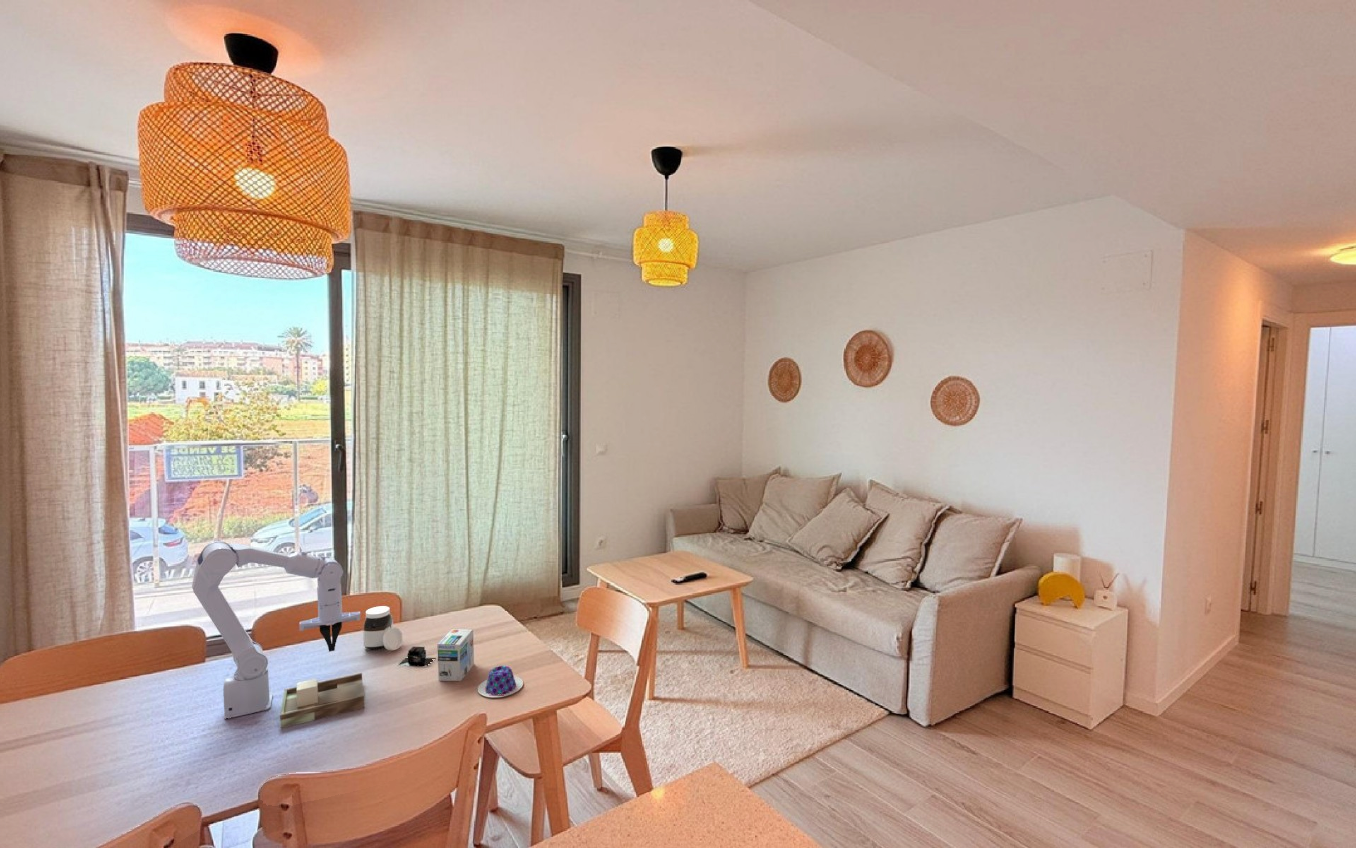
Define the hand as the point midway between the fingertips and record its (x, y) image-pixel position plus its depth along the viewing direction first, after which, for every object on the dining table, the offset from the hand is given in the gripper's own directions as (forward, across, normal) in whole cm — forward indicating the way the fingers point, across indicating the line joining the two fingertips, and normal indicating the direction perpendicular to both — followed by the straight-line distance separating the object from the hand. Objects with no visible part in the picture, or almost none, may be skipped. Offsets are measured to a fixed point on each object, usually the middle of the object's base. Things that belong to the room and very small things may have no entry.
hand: (331, 649), depth 166 cm
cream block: (+7, -6, -12) cm, 15 cm away
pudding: (+10, +40, -26) cm, 49 cm away
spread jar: (+10, +14, +18) cm, 25 cm away
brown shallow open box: (+9, -2, -12) cm, 15 cm away
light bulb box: (+10, +31, -11) cm, 34 cm away
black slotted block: (+10, +22, +2) cm, 24 cm away
